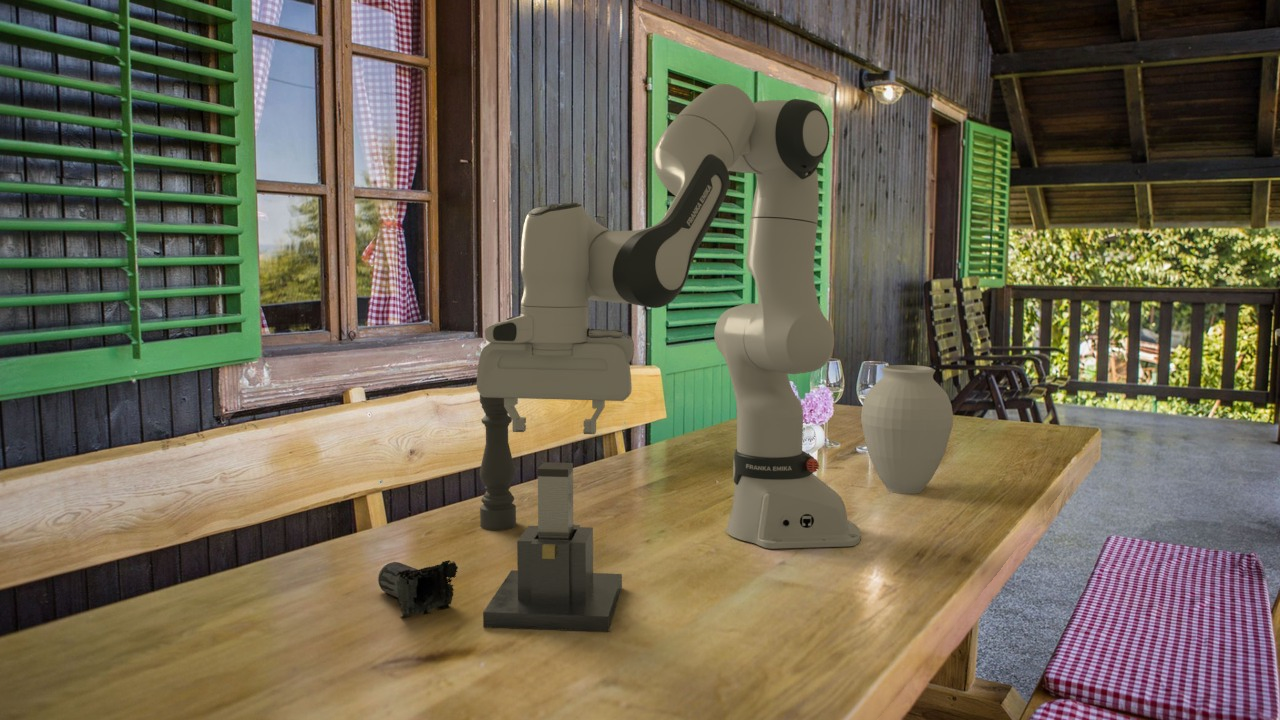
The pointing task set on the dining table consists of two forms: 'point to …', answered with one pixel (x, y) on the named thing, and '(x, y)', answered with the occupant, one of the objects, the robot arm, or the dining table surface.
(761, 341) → the robot arm
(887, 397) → the vase
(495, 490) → the candle holder
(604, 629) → the stand
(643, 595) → the dining table surface
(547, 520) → the column
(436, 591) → the dark flanged cylinder
